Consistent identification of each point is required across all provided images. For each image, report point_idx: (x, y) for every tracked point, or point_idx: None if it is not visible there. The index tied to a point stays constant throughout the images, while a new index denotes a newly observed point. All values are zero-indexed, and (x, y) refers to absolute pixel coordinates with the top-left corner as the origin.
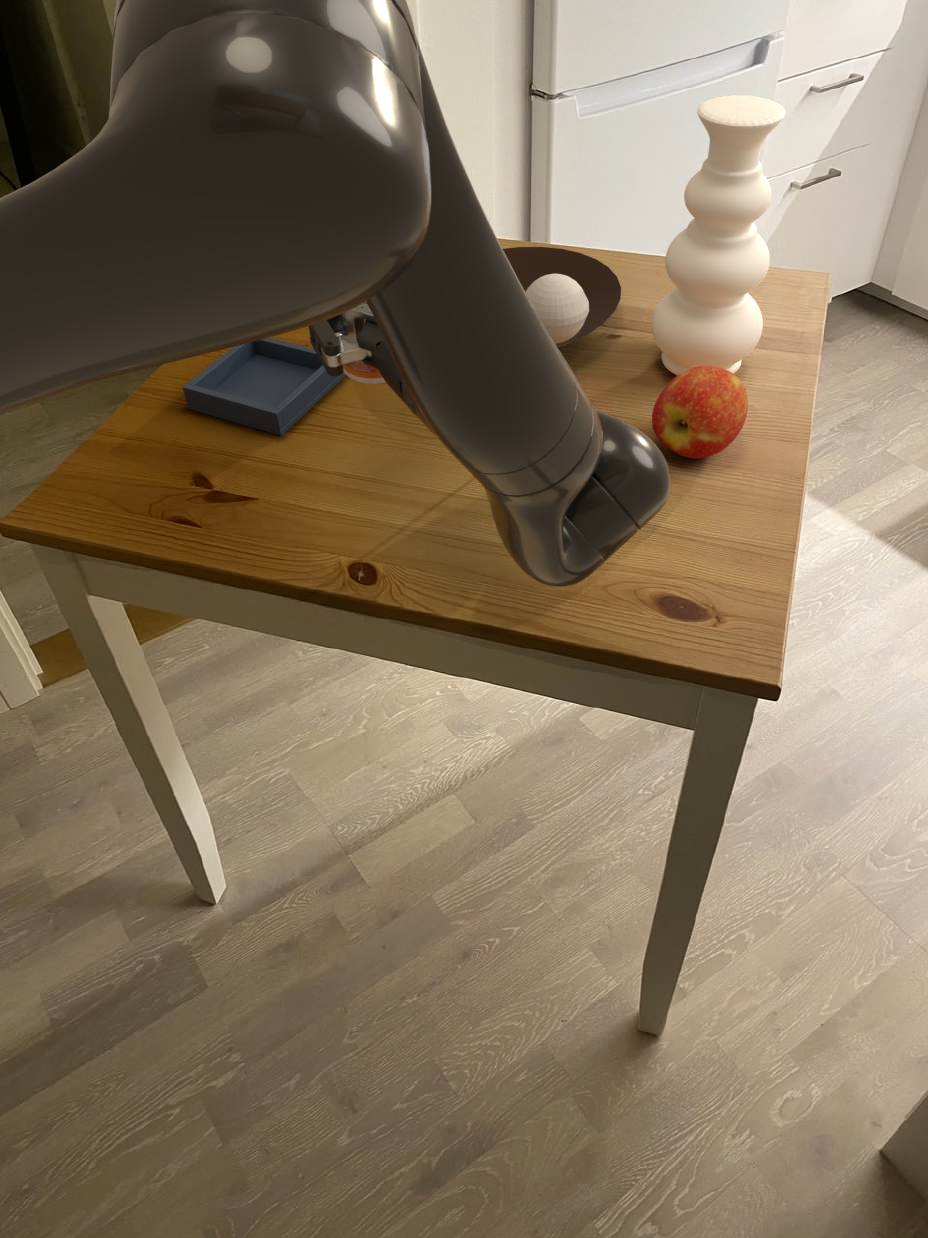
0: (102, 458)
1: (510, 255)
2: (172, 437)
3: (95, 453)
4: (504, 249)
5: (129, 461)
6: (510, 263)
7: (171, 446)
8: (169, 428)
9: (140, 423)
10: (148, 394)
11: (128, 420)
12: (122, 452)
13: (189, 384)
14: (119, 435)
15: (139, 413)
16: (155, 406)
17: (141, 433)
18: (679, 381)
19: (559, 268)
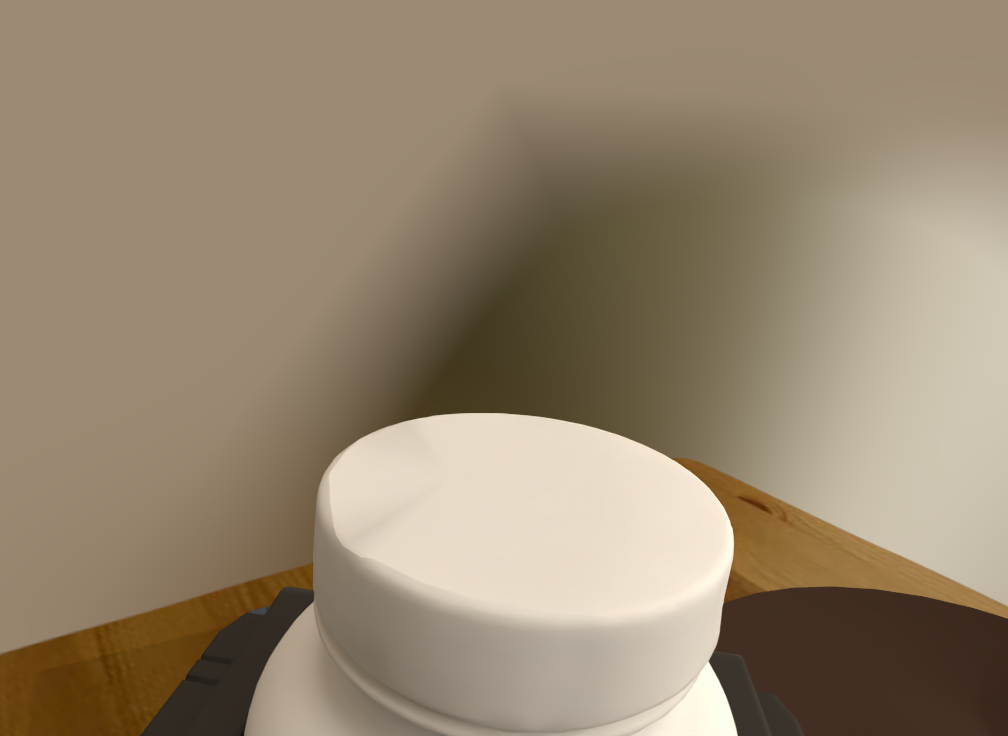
0: (16, 678)
1: (1005, 634)
2: (152, 703)
3: (28, 659)
4: (991, 615)
5: (28, 716)
6: (1005, 651)
7: (122, 726)
8: (176, 677)
9: (161, 637)
10: (243, 587)
11: (158, 619)
12: (54, 685)
13: (264, 612)
14: (106, 642)
15: (187, 615)
16: (221, 615)
17: (133, 659)
18: None
19: None
